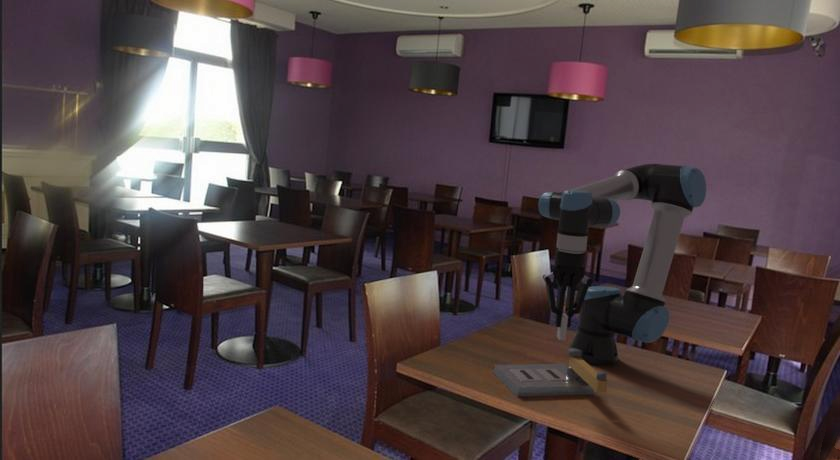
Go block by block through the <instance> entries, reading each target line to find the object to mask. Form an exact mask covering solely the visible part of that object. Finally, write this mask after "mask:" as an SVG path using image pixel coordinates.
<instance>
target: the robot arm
mask: <svg viewBox="0 0 840 460" xmlns="http://www.w3.org/2000/svg"><path fill="white" fill-rule="evenodd" d="M706 195H707V182H706V178H705V175H704V173H703V172H702V170H701V169H699V168H697V167H693V166H687V165H675V164H674V165H673V164H661V163H647V164H646V163H645V164H641V165H637V166H636V165H635V166H632V167H629V168H624V169H622V170H619V171H617V172H615V174H614V175H613V176H610V177H607V178H604V179H600V180H598V181H594V182H589V183H588V184H587V183H586V184H584V185H581V186H578V187H574V188H571V189H566V190H564V191H561V192H557V191H545V192H544V193H542V195H541V196H540V198H539V200H538V211H539V214H540V215H541V216H542V217H544V218H548V219H551V220H556V221H557V220H558V229H557V238H556V248H557V249H556V250H555V255H554V265H553V268H552V269H551V272H550V273H548V274H543V275H542V279H543V281H544V283H545V287H546V294H547V301H548V309H549V311H551V313H553V314H555V318H554V319H555V320H554V326H555V327H557V331H556V338H557V339H558V340H559V341H566V339H567V331H568V330H567V328H569V329H570V328H571V325H572V318H573V317H574V315H578V320H577V328H576V333H575V334H574V336H573V338H572V340H571V343H570V345H569V348H568V349H570V348H575V349H579V350H581V351H582V354H581V358H582V359H583V360H584V361H585V362H586V363H588V364H589V365H593V366H601V367H604V366H606V367H607V366H614V365H616V364H618V359H619V353H618V349H617V344H616V339H615V338H616V334H618V335H620V336H624V337H627V338H630V339H633V340H634V341H638V342H643V343H646V344H650V343H655V342H656V341H657V340H659V339H660V338H661V337H662V336H663V335H664V333H665V331H666V330H667V327H668V325H669V323H670V317H669V316H670V312H669V310H668V308H667V307H666V306H665V305H666V299H665V298H664V296H663V292H664V289H665V286H666V283H667V279H668V275H669V272H670V270H671V269H670V268H671V264H672V262H673V258H674V255H675V253H676V249H677V245H678V241H679V238H680V234H681V231H682V228H683V225H684V221H685V219H686V218H687V217H689V216H691V215H692V213H693V210H694V208H699V207H700V206H702V205H703V203H704V201H705V199H706ZM631 200H645V201H649V202H651V204H650V205H651V207H652V208H653V210H654V211H653V212H654V213H653V215H652V216H653V217H652V220H651V223H650V226H649V230H648V233H647V237H646V239H645V243H644V246H643V250H642V252H641V257H640V260H639V263H638V267H637V270H636V274H635V276H634V280H633V282H632V285H631V286H630V287H628V288H626V289H625V292H624V294H623V295H622V290H621V289H620V288H618V287H614V286H601V285H600V286H598V285H597V286H591V285H592V284H593V283H594V280H593V279H592V278H591V277H589V276H587V275H586V271H585V263H586V251H587V246H588V237H589V228H597V227H598V228H600V227H602V228H605V227H609V226H613V225H615V224H616V223H617V222H618V221H619V219H620V216H621V210H620V209H621V208H620V205H619V204H618V201H625V202H626V201H631ZM554 279H555V281H556V283H557V295H556V296H557V297H555V291H554V290H555V289H554V284H553V282H554ZM580 282H581V284H580V285H579V289H578V292H577V294H576V291H577V285H578V284H579V283H580ZM566 291H567V292H566ZM575 294H576V297H575ZM565 298H566V299H565ZM565 300H566V301H565ZM564 306H565V309H564Z"/></svg>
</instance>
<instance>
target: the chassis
mask: <svg viewBox="0 0 840 460" xmlns="http://www.w3.org/2000/svg"><path fill="white" fill-rule="evenodd" d="M493 374H494V375H495V376H496V378H498V379H499V380H500V381H501V382H502V383H503V384H504V385H505V386H506V387H507V388H508V390H510V391H511V392H512V393H513V394H514V395H515V396H516V397H517V398H518V397H519V398H521V397H522V398H523V397H554V396H557V397H559V396H562V397H563V396H587V395H588V396H590V395H593V393H594V389H593V388H592V387H591V386H590V385H589V384H588V383H586V382H585V381H584V380H583V379H582V378H581V377H580V376H579V375H578V374H577V373H576V372H575V371H574V370H573V369H572V368H571V367H570V366H569V365H566V364H565V363H540V364H538V363H535V364H524V363H523V364H494V369H493Z"/></svg>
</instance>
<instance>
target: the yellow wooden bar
mask: <svg viewBox="0 0 840 460" xmlns="http://www.w3.org/2000/svg"><path fill="white" fill-rule="evenodd" d="M581 354H582V351H581V350H579V349H575V348H570V349H569V348H568V350H567V356H569V361H568V362H569V363H568V366H570V367H571V368H572V369H573V370H574V371H575V372H576V373H577V374H578V375H579V376H580V377H581V378H582V379H583V380H584V381H585V382H586V383H588V384H589V385H590V386H591V387H592V388H593V391H595V392H596V393H607V388H608V380H607V376H608V373H607V372H605V371H597V370H595V369H594V368H593V367H592V366H591V364H588V363H586V362H585V361H584V360H583V359H582V358H581Z"/></svg>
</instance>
